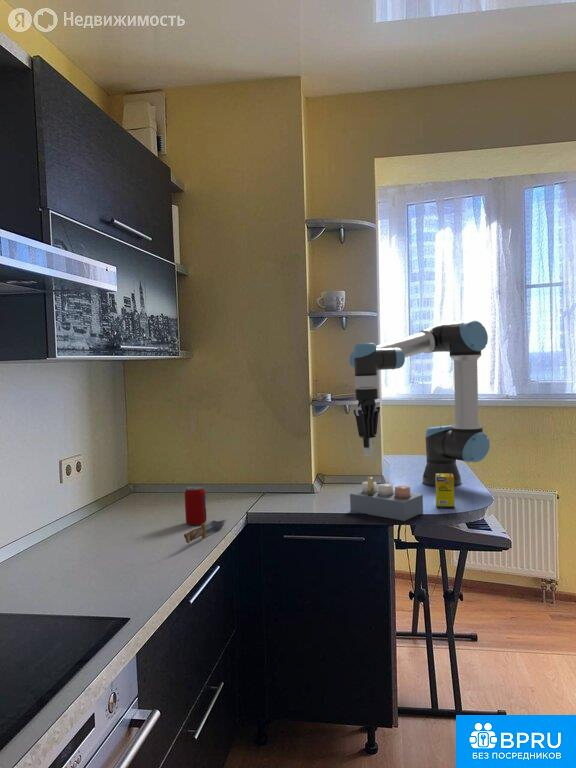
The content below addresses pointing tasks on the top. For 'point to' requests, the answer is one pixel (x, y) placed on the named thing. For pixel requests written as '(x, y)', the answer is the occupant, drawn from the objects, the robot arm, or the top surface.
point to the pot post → (370, 486)
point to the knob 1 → (365, 487)
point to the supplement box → (444, 491)
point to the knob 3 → (402, 492)
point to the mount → (387, 505)
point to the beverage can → (195, 505)
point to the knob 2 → (385, 489)
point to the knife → (204, 530)
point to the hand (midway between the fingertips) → (368, 456)
